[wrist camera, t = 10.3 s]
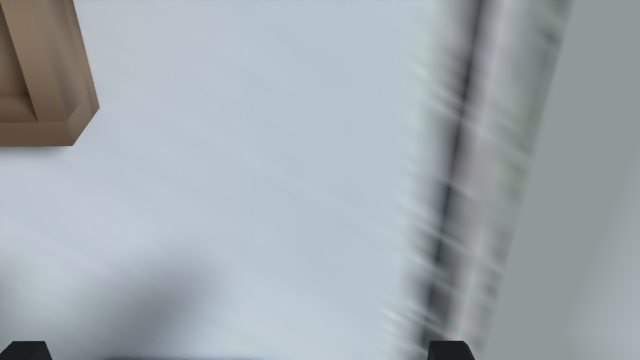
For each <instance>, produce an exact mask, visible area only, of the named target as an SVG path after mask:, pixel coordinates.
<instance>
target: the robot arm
mask: <svg viewBox="0 0 640 360" xmlns="http://www.w3.org/2000/svg"><path fill="white" fill-rule="evenodd" d="M0 360H52V358H51V355H50V353H49V350H48V348H47V345H46V343H45V341H13V342H12V343H11V344H10V345H9V346H8V347H7V348H6V349H5V350H3V351H2V352H1V353H0ZM427 360H475V359H474V357H473V355H472V353H471V351H470V348H469V346H468V345H467V344H466V343H465V342H464V341H430V343H429V351H428V359H427Z"/></svg>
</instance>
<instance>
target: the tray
mask: <svg viewBox="0 0 640 360" xmlns="http://www.w3.org/2000/svg"><path fill="white" fill-rule="evenodd" d="M99 108H100V107H99V103H98V99H97V95H96V91H95V87H94V83H93V79H92V75H91V71H90V67H89V63H88V59H87V55H86V51H85V47H84V43H83V39H82V35H81V31H80V27H79V23H78V19H77V15H76V11H75V7H74V3H73V0H0V147H1V146H73V145H74V143H75V142H76V140H77V139H78V137H79V136H80V135H81V133H82V132H83V130H84V129H85V128H86V126H87V125H88V123H89V122H90V121H91V119H92V118H93V116H94V115H95V113H96V112H97V111H98V109H99Z"/></svg>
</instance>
